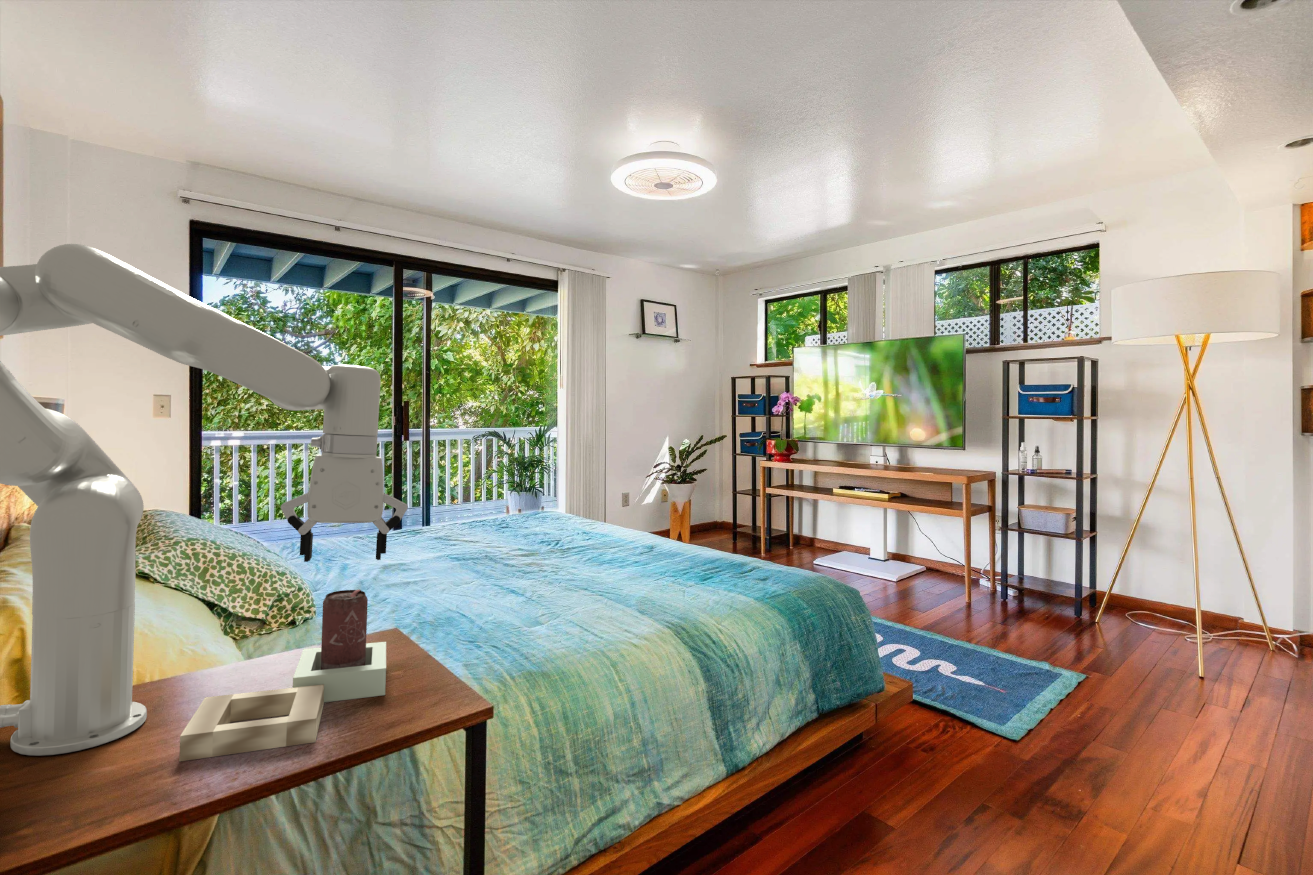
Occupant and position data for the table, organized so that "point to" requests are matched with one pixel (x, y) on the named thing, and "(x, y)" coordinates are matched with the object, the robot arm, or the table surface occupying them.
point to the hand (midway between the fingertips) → (343, 559)
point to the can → (344, 629)
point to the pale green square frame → (344, 675)
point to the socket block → (253, 722)
